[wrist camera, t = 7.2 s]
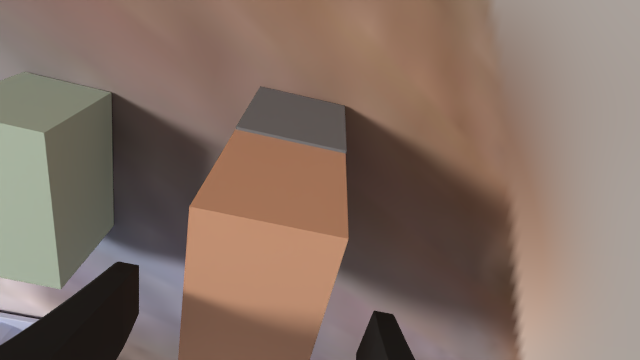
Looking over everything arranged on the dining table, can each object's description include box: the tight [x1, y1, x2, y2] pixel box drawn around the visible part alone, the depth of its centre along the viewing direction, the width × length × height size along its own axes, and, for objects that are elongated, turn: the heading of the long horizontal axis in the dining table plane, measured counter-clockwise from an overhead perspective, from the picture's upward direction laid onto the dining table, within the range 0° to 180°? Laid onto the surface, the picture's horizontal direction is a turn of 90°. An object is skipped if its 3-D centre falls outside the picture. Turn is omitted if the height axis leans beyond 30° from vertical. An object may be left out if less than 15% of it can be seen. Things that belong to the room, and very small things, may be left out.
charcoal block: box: [236, 86, 347, 154], centre depth 18 cm, size 8×4×5 cm, turn 167°
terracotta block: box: [178, 129, 349, 360], centre depth 14 cm, size 8×4×5 cm, turn 167°
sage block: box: [0, 72, 114, 289], centre depth 19 cm, size 8×4×5 cm, turn 166°
